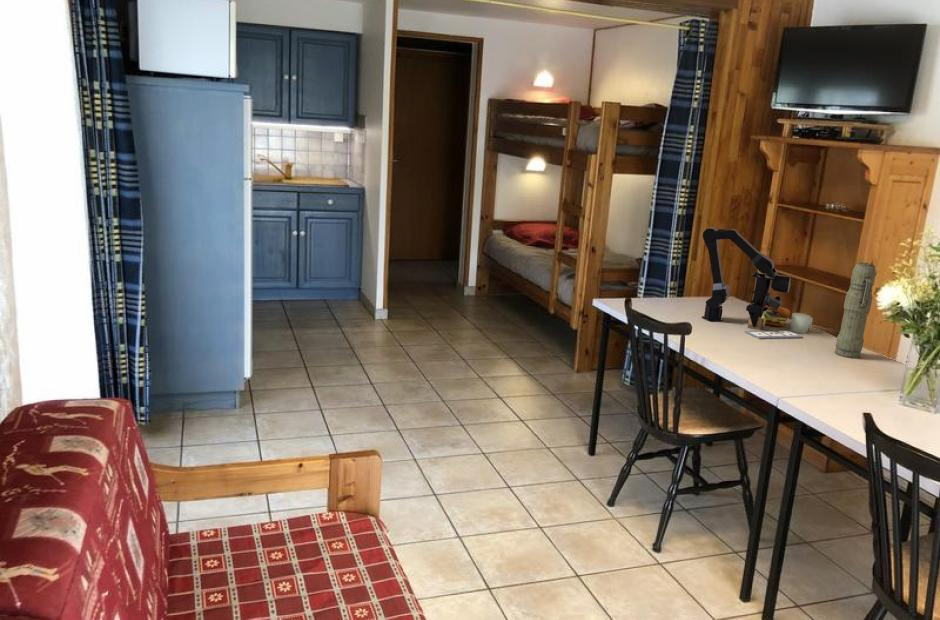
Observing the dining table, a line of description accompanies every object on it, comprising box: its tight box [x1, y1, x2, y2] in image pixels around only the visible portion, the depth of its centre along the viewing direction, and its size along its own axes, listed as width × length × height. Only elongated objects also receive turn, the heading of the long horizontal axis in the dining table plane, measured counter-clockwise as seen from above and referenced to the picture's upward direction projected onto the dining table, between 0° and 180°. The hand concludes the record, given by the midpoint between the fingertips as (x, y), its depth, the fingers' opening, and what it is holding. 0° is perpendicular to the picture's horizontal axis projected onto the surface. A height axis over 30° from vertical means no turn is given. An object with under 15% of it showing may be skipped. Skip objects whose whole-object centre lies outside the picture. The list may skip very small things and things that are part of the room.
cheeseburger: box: [761, 306, 791, 327], centre depth 329 cm, size 10×11×10 cm
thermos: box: [834, 261, 877, 359], centre depth 287 cm, size 9×12×35 cm
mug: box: [788, 312, 814, 335], centre depth 320 cm, size 9×7×7 cm
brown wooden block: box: [746, 317, 764, 331], centre depth 321 cm, size 5×5×4 cm
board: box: [744, 329, 804, 340], centre depth 311 cm, size 21×9×1 cm, turn 108°
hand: (755, 325), depth 321 cm, fingers closed on brown wooden block, 5 cm apart
